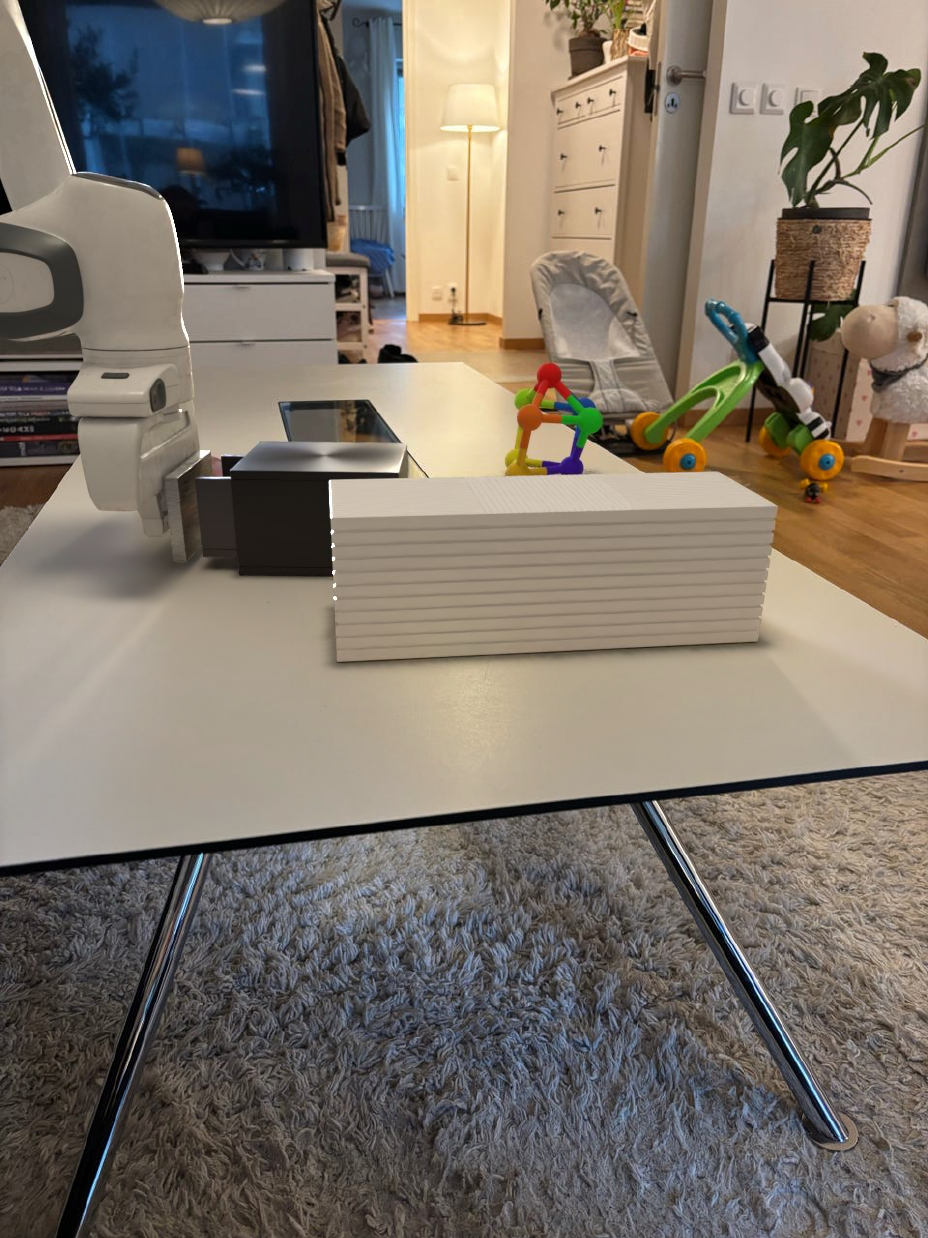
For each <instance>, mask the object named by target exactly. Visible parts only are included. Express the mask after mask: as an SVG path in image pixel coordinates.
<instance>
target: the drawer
mask: <svg viewBox="0 0 928 1238" xmlns="http://www.w3.org/2000/svg"><path fill="white" fill-rule="evenodd" d="M245 455H246V454H222V455H221V456H220V459H221V464H222V475H223V477H213V470H212V459H211V456H212V451H211V450H200V451H198V452H197V453H196V454H194V455H193V456H192V457H190V458H189V459H188V460H187V461H185V462H184V463H183V464H181V465H180V466H179V467H178V468H176V469H175V470H174V471H172V472H171V473H170V474H169V475H167V476H166V477H165V478H164V484H165V492H166V501H167V510H168V519H169V527H170V529H169V533H170V534H169V535H170V536H169V537H170V545H171V553H172V562H173V563H187V562H188V561H189V560H190V559H191V558H192V557H193V556H194V554H196V552H197V551H198V550H199V548H201V552H202V553H201V554H202V557H203V558H233V559H235V558H237V548H236V536H235V524H234V513H233V501H232V489H231V478H230V470H231V469H232V468H233V467H234V466H235V465H236V464H237V463H238V462H239V461H240V460H241V459H242V458H243V457H244V456H245Z"/></svg>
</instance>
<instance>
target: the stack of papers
mask: <svg viewBox="0 0 928 1238" xmlns="http://www.w3.org/2000/svg"><path fill="white" fill-rule="evenodd" d="M329 489H330V513H331V537H332V560H333V576H332V578H333V582H332V583H333V602H334V603H333V605H334V624H335V626H334V627H335V648H336V649H335V650H336V651H335V652H336V662H337V663H339V662H341V663H342V662H362V661H364V662H365V661H382V660H383V661H385V660H399V659H400V660H401V659H404V660H405V659H419V658H420V659H422V658H423V659H424V658H441V657H442V658H443V657H461V656H462V657H465V656H481V655H482V656H483V655H486V656H487V655H489V656H490V655H506V654H507V655H508V654H527V653H546V652H547V653H548V652H550V653H551V652H567V651H587V650H588V651H589V650H590V651H591V650H608V649H626V648H628V649H629V648H648V647H649V648H650V647H651V648H652V647H667V646H691V645H692V646H693V645H712V644H729V643H731V644H732V643H749V642H751V643H752V642H759V637H760V630H759V629H760V628H761V624H762V619H761V618H760V617H762V616H763V611H764V607H763V606H762V605H765V604H764V603H765V594H763V593H766V590H767V583H766V582H765V581H768V575H769V570H767V569H769V568H770V564H771V558H770V557H771V555H772V549H773V545H771V544H773V543H774V537H775V533H774V532H772V531H775V530H776V523H777V521H776V520H775V519H774V518H777V517H778V510H779V506H778V505H777V504H775V503H773V502H772V501H770V500H768V499H766V498H765V497H763V496H762V495H760V494H758V493H757V492H755V491H753V490H751V489H749V488H747V487H746V486H744V485H743V484H740V483H739V482H737V481H736V480H734V479H732V478H730V477H728V475H727V476H726V475H725V474H723V473H721V472H720V471H692V472H691V471H682V472H677V471H676V472H637V473H635V472H634V473H633V472H632V473H595V474H594V473H591V474H589V473H587V474H582V475H561V474H553V475H539V476H538V475H534V476H506V475H499V476H498V475H493V476H490V475H489V476H451V477H450V476H449V477H448V476H447V477H446V476H444V477H443V476H442V477H407V478H391V479H343V480H329Z"/></svg>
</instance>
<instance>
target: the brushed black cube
mask: <svg viewBox="0 0 928 1238" xmlns="http://www.w3.org/2000/svg"><path fill="white" fill-rule="evenodd" d="M244 455H245V456H244V457H243V458H242V459H241V460H240V461H239V462H238V463H237V464H236V465H235V466H234V467H233V468H232V469H231V470H230V478H231V489H232V501H233V513H234V524H235V536H236V548H237V570H238V575H239V576H288V577H289V576H292V577H293V576H295V577H297V576H298V577H301V576H304V577H333V560H332V537H331V513H330V489H329V480H343V479H391V478H408V443H407V442H351V441H350V442H349V441H346V442H345V441H344V442H342V441H278V440H277V441H275V440H274V441H272V440H271V441H270V440H269V441H267V440H266V441H264V440H260V441H259V442H258V443H256V444H255V446H253V447H252V448H251V449H250V450H249V451H248V452H247V453H246V454H244Z"/></svg>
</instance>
